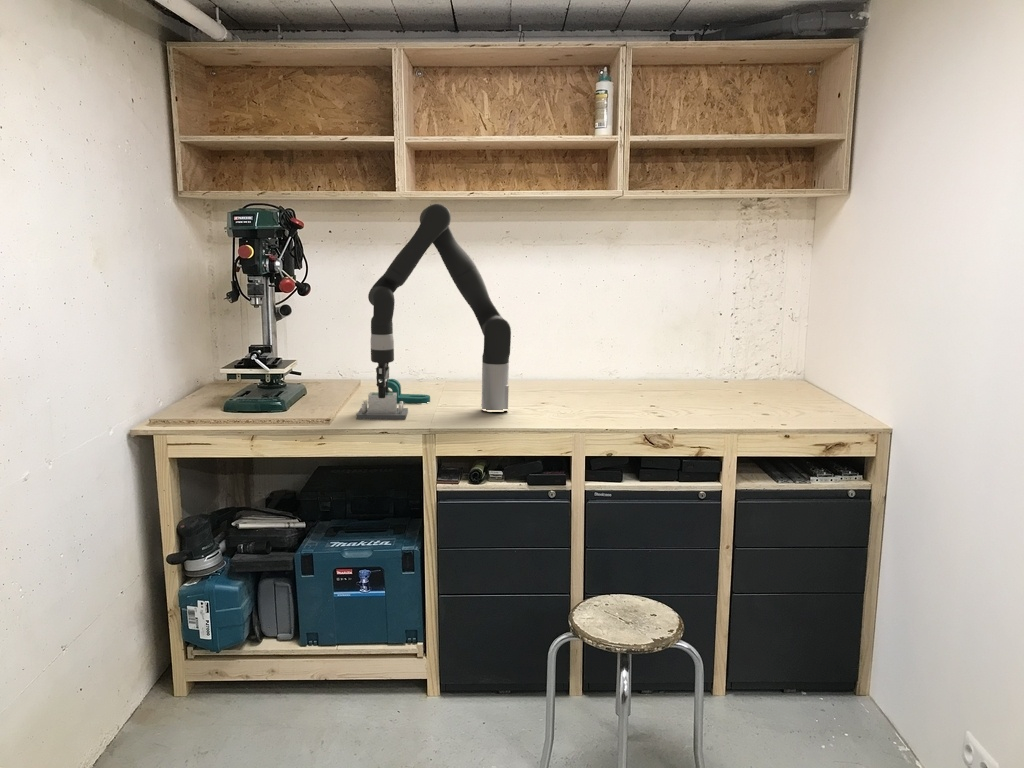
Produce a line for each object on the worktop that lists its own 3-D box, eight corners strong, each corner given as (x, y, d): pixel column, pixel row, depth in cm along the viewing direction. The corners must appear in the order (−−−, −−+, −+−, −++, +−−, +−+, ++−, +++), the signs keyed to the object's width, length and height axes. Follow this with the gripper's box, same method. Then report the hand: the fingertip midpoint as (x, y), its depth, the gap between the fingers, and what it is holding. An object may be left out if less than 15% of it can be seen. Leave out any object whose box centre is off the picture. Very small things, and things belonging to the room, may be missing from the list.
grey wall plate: (408, 412, 236) (407, 399, 235) (405, 419, 226) (405, 406, 225) (360, 411, 234) (360, 399, 234) (356, 419, 225) (356, 405, 224)
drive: (397, 409, 232) (396, 392, 231) (395, 413, 228) (395, 395, 227) (370, 409, 232) (369, 391, 230) (368, 412, 227) (368, 394, 226)
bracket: (379, 403, 249) (379, 382, 247) (382, 399, 255) (382, 378, 254) (428, 404, 249) (429, 383, 247) (431, 400, 255) (431, 379, 254)
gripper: (391, 350, 219) (392, 400, 222) (395, 344, 233) (396, 390, 236) (367, 350, 218) (369, 400, 221) (373, 344, 232) (374, 390, 235)
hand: (383, 395), depth 229 cm, fingers open, 8 cm apart
